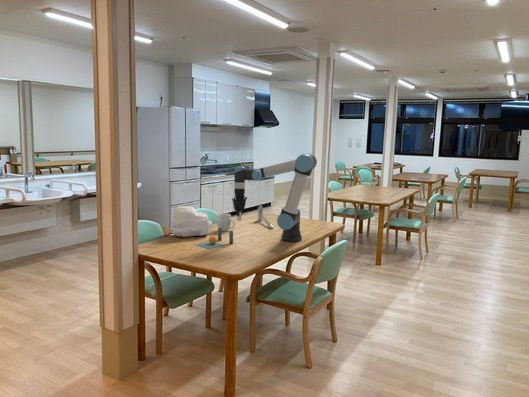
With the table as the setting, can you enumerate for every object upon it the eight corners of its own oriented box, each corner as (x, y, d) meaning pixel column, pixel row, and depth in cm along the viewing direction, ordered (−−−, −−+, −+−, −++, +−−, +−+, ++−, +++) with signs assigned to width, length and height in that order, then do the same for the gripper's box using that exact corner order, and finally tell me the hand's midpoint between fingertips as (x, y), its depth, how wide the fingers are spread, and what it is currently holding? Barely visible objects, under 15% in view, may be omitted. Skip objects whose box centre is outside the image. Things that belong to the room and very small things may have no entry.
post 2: (231, 242, 308) (231, 230, 307) (233, 243, 306) (233, 230, 305) (228, 243, 306) (228, 230, 305) (231, 244, 304) (231, 231, 303)
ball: (206, 236, 303) (207, 244, 304) (211, 238, 299) (212, 246, 300) (213, 234, 306) (214, 242, 307) (218, 236, 302) (218, 243, 303)
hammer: (275, 236, 359) (261, 219, 395) (276, 217, 354) (262, 202, 391) (270, 236, 357) (256, 220, 394) (271, 217, 353) (257, 202, 389)
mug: (237, 230, 349) (237, 214, 348) (231, 233, 339) (231, 216, 338) (221, 228, 355) (221, 212, 353) (214, 231, 345) (214, 215, 343)
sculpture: (172, 239, 316) (213, 238, 322) (172, 209, 313) (214, 209, 319) (171, 231, 341) (210, 231, 347) (171, 204, 338) (210, 204, 344)
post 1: (220, 239, 317) (220, 227, 316) (222, 240, 315) (222, 228, 314) (217, 240, 315) (217, 228, 314) (219, 241, 313) (219, 228, 312)
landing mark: (211, 241, 310) (211, 241, 310) (224, 245, 301) (224, 245, 301) (195, 244, 301) (195, 244, 301) (207, 248, 291) (207, 248, 291)
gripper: (242, 187, 322) (242, 218, 325) (229, 188, 313) (229, 220, 316) (249, 187, 317) (249, 220, 320) (236, 189, 307) (235, 222, 311)
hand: (239, 220), depth 318 cm, fingers closed
